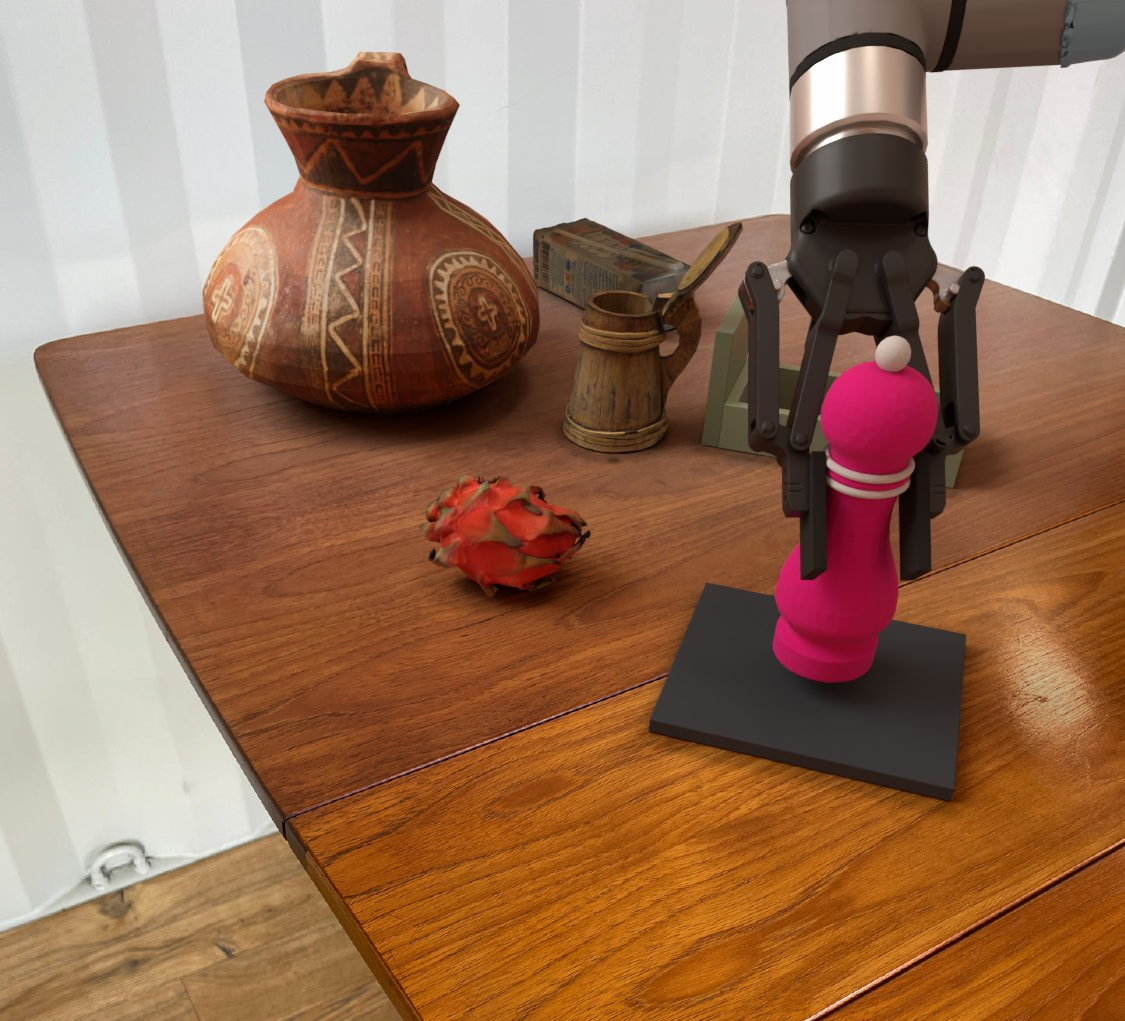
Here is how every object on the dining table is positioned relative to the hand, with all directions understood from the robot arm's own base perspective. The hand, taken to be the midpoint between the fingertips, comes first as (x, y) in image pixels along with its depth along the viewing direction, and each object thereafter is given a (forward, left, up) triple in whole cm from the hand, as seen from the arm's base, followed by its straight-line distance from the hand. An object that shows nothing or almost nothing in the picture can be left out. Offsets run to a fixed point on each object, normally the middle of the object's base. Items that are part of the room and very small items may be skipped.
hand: (864, 574), depth 60 cm
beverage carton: (+32, -63, -11) cm, 72 cm away
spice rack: (+5, -39, -11) cm, 41 cm away
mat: (+1, -3, -11) cm, 12 cm away
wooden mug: (+21, -34, -11) cm, 42 cm away
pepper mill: (+1, -4, -8) cm, 9 cm away
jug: (+47, -36, -11) cm, 61 cm away
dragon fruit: (+24, -8, -11) cm, 28 cm away
